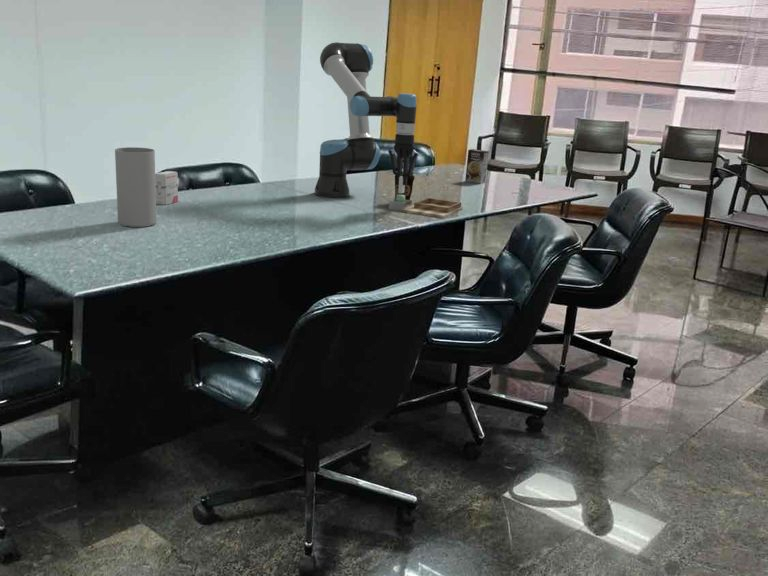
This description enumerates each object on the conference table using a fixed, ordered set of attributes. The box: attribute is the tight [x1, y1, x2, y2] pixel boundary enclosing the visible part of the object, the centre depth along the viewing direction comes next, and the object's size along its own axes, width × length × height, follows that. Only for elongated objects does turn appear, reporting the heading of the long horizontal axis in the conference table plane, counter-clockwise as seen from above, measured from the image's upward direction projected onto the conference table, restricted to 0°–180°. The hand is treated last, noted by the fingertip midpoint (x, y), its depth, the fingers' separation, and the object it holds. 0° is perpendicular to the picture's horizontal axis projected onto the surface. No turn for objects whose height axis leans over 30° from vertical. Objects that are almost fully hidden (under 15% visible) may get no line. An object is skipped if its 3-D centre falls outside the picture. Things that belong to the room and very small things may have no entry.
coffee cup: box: [394, 171, 416, 200], centre depth 324 cm, size 9×8×13 cm
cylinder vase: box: [114, 146, 158, 228], centre depth 258 cm, size 12×12×25 cm
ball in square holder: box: [388, 198, 413, 212], centre depth 313 cm, size 7×7×4 cm
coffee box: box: [464, 148, 490, 185], centre depth 390 cm, size 9×6×16 cm
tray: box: [401, 197, 463, 219], centre depth 314 cm, size 18×22×3 cm
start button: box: [396, 195, 405, 202], centre depth 313 cm, size 4×4×4 cm
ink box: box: [155, 170, 179, 206], centre depth 296 cm, size 9×5×12 cm, turn 160°
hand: (401, 192), depth 312 cm, fingers closed
